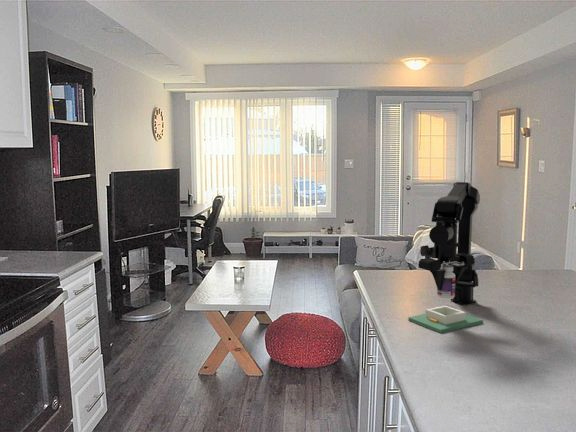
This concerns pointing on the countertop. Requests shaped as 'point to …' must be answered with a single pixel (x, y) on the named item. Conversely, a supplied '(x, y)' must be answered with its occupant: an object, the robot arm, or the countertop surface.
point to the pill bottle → (447, 283)
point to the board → (445, 319)
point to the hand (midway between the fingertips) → (446, 288)
